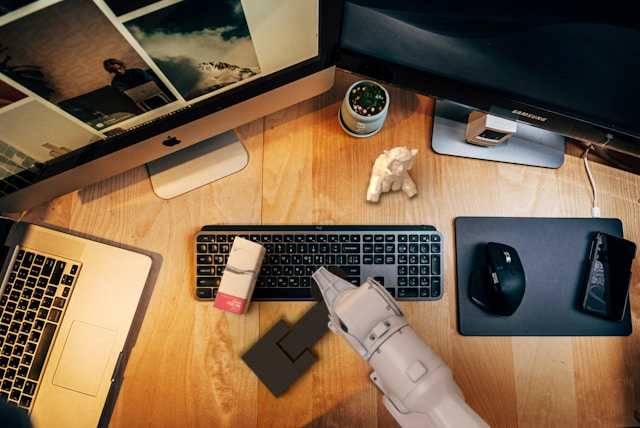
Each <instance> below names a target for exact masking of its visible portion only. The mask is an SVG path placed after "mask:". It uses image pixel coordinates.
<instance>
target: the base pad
mask: <svg viewBox="0 0 640 428" xmlns="http://www.w3.org/2000/svg"><path fill="white" fill-rule="evenodd" d="M289 331H291V327H290V326H289V325H288V324H287V323H286V322H285V321H284V320H283V318H281V319H279V321H277V323H275V324H274V325H273V326H272V327H271V328H270V329H268V331H267V332H266V333H265V334H263V336H261V338H259V339H258V340H257V341H256V342H255V343H254V344H253V345H251V347H250V348H248V350H247V351H246V352H244V353H243V355H241V357H240V359H241V360H242V361H243V362H244V363H245V364H246V366H247V367H248V368H249V369H250V370H251V371H252V373H253V374H254V375H255V376H256V377H257V378H258V380H259V381H260V382H261V383H262V384H263V385H264V386H265V387H266V389H267V390H268V391H269V392H270V393H271V394H272V395H273V397H274V398H275V399H276V400H277V399H279V398H280V397H281V396H282V395H283V394H284V393H285V392H286V391H287V390H288V389H289V388H290V387H291V386H292V385H293V384H294V383H295V382H296V381H297V380H298V379H299V378H300V377H301V376H303V374H304V373H305V372H306V371H307V370H309V369H310V367H312V365H313V364H314V363H315V362H317V360H318V359H317V356H316V355H315V354H314V353H313V352H312V351H311V350H310V349H309V348H308V347H307V348H305V349H304V350H303V351H302V352H301V353H300V354H299V355H298V356H297V357H296V358H295V359H293V358H292V357H291V355H290V354H289V353H288V352H287V351H286V350H285V349H284V348H283V347H282V345H281V344H280V342H279V341H281V340H282V339H283V338H284V337H285V336H286V335H287V334H288V333H289Z"/></svg>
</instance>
